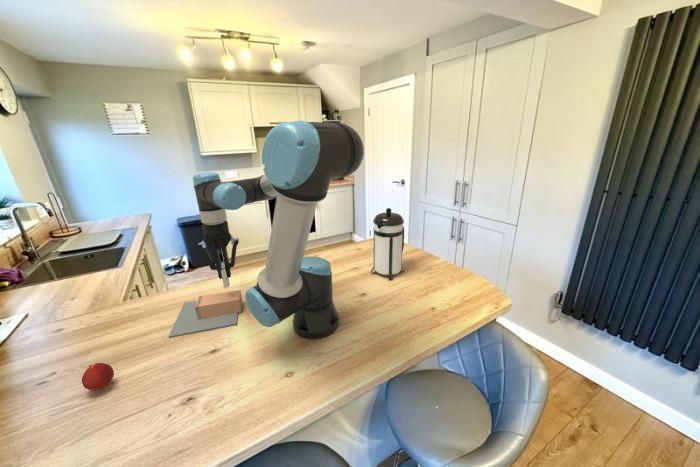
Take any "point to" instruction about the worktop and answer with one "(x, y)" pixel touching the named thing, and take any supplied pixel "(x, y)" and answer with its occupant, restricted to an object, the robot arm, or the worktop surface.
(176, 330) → the mat
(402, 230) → the coffee press
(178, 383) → the worktop surface
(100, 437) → the worktop surface
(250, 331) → the worktop surface
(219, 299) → the tall block
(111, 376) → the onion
